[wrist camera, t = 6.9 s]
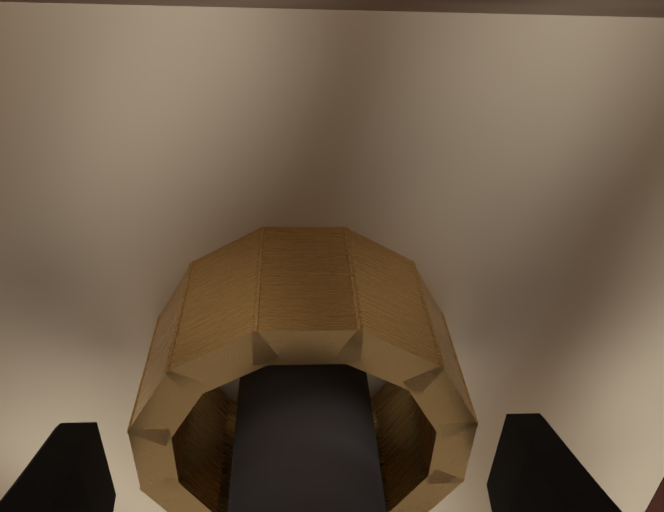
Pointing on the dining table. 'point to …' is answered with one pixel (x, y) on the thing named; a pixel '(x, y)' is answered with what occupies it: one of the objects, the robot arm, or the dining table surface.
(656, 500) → the dining table surface
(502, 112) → the piston block
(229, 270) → the wooden ring
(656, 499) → the dining table surface
